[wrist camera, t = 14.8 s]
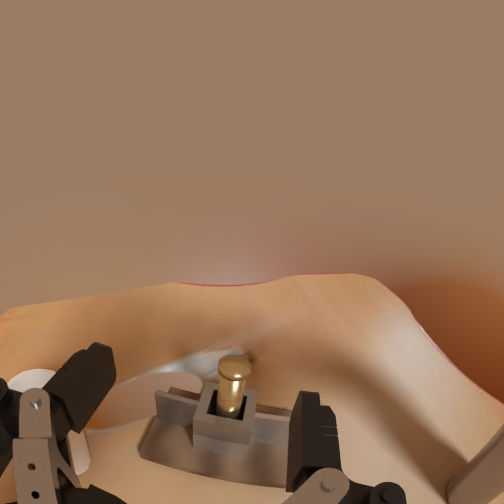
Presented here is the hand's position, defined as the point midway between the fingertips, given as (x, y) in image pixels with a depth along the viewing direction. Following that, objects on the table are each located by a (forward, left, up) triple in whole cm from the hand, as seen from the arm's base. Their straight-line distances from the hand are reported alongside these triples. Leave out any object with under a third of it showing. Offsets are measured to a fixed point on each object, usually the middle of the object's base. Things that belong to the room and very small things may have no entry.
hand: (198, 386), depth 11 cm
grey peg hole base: (0, -16, -28) cm, 32 cm away
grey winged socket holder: (0, -16, -27) cm, 31 cm away
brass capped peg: (0, -16, -26) cm, 31 cm away
